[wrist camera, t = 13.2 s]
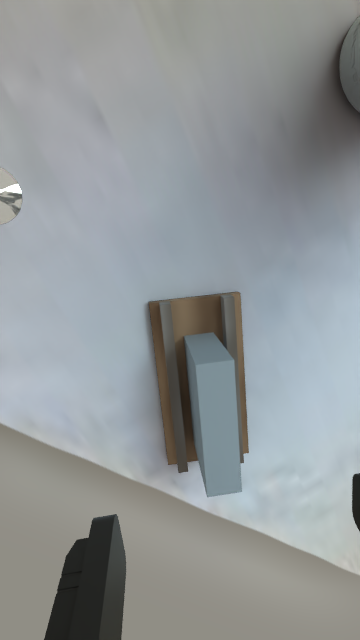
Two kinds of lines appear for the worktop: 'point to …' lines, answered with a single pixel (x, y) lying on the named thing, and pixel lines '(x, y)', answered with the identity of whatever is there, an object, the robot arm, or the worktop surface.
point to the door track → (168, 338)
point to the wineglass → (9, 197)
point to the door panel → (214, 413)
